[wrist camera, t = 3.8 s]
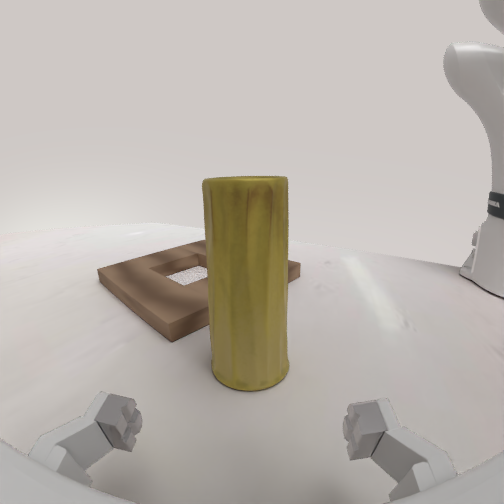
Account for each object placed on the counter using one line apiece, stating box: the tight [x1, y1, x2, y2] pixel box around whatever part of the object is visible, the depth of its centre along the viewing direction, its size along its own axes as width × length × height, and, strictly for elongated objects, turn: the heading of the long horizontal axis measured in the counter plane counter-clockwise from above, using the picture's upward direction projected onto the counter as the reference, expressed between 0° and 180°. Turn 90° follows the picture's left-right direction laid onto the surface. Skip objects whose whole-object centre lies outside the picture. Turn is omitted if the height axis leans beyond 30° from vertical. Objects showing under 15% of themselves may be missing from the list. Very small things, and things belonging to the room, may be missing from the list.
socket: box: [97, 240, 300, 342], centre depth 38 cm, size 21×21×2 cm
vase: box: [202, 176, 289, 391], centre depth 19 cm, size 6×6×14 cm
